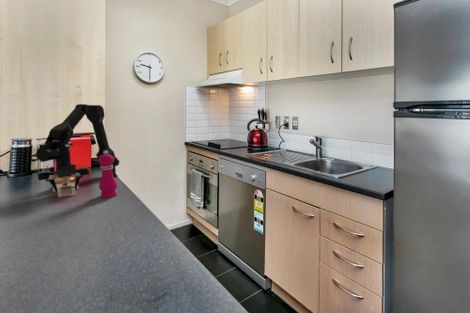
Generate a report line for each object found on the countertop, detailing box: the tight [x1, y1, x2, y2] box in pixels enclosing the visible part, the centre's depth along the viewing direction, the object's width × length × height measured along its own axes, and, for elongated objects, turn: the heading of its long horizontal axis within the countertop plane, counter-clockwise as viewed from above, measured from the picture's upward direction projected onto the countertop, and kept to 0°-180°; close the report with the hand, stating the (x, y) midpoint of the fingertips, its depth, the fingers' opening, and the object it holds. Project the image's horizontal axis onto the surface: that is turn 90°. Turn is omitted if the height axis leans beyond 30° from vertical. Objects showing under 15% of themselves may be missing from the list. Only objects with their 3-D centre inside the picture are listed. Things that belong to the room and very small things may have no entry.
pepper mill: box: [97, 150, 118, 199], centre depth 119 cm, size 7×7×20 cm
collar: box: [56, 185, 77, 198], centre depth 122 cm, size 7×7×3 cm
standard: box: [52, 175, 80, 193], centre depth 131 cm, size 10×10×10 cm
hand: (66, 191), depth 122 cm, fingers closed on collar, 7 cm apart
